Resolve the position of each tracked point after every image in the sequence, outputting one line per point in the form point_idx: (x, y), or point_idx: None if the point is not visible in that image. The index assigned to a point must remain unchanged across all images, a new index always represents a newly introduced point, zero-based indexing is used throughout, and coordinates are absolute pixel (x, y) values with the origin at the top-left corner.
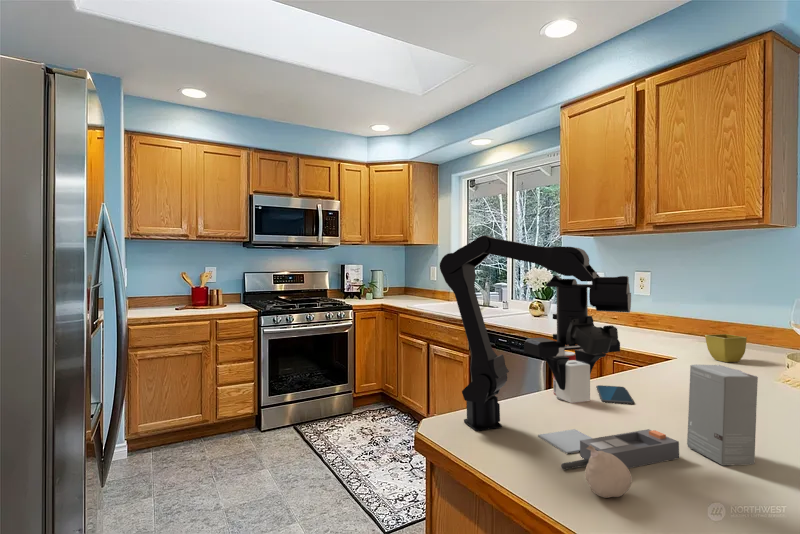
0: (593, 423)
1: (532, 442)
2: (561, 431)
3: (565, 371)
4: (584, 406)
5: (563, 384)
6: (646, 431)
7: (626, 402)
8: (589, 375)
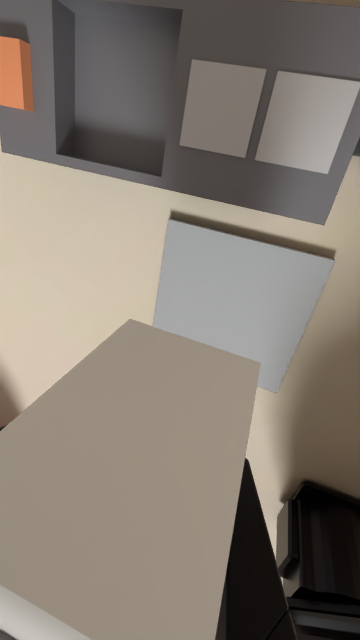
0: (69, 342)
1: (332, 379)
2: None
3: (229, 622)
4: (17, 407)
5: (249, 490)
6: (22, 139)
7: None
8: (20, 420)
